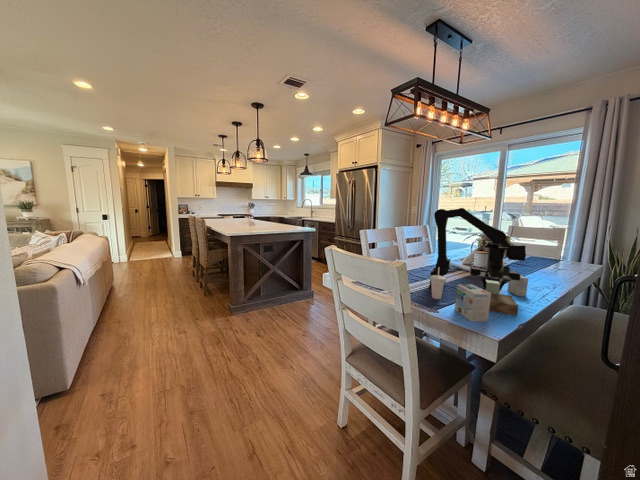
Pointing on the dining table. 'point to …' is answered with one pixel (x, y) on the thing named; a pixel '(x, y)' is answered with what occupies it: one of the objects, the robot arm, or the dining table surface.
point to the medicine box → (518, 286)
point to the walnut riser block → (503, 304)
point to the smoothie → (437, 285)
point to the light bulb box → (472, 302)
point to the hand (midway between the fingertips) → (491, 291)
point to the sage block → (492, 286)
